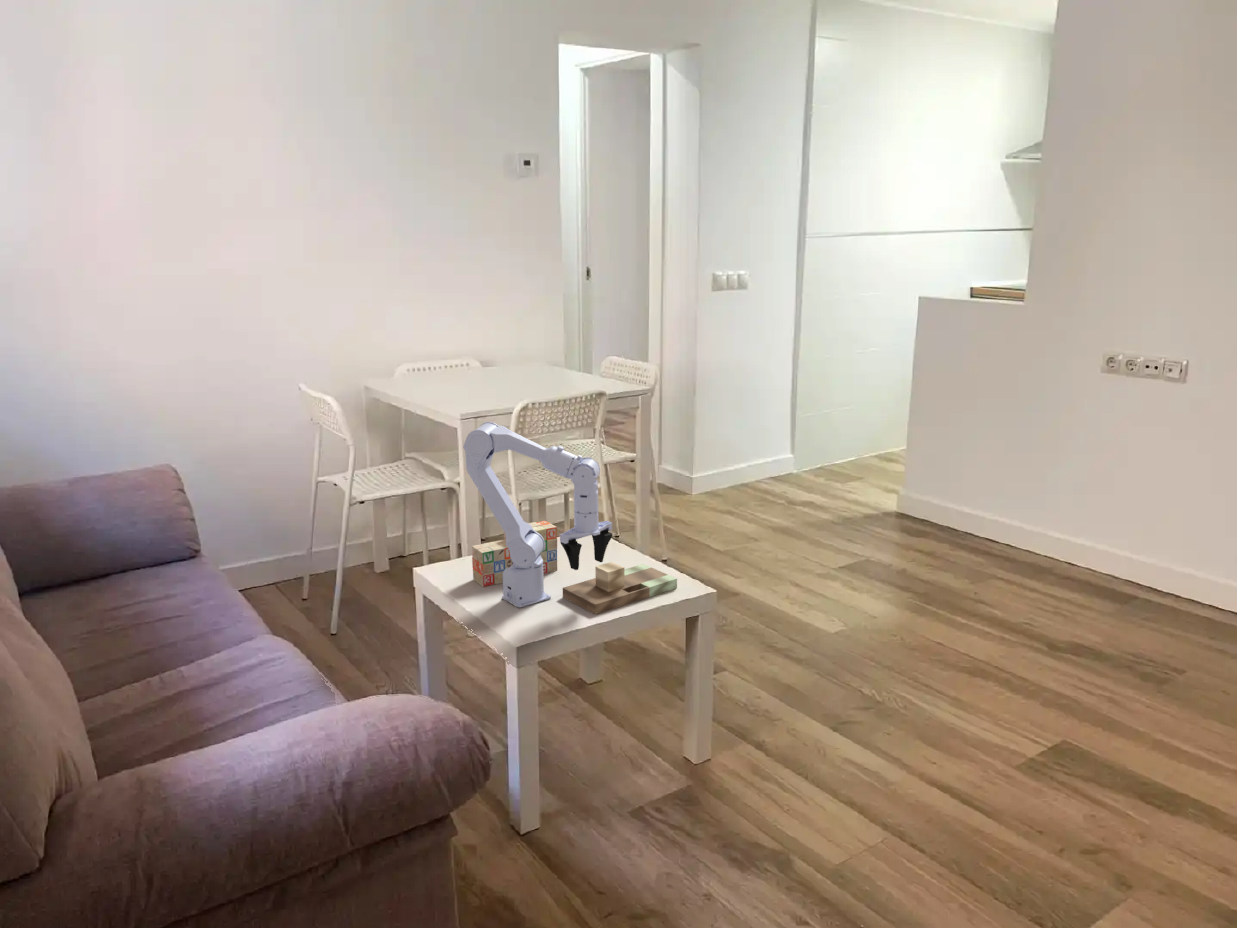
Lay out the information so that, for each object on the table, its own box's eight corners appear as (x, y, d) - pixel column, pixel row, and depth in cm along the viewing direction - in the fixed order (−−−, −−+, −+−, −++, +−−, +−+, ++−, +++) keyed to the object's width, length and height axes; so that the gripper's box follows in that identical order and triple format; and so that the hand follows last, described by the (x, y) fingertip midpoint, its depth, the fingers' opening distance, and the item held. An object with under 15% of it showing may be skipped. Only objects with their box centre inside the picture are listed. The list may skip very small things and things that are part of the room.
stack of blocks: (483, 587, 240) (481, 541, 237) (472, 579, 245) (470, 534, 242) (558, 570, 251) (557, 526, 248) (546, 563, 256) (545, 519, 253)
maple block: (608, 591, 230) (608, 572, 229) (595, 585, 234) (595, 566, 233) (624, 586, 233) (624, 567, 232) (611, 580, 237) (611, 561, 236)
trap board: (595, 614, 224) (595, 604, 223) (562, 597, 233) (562, 587, 233) (676, 587, 239) (677, 578, 238) (643, 572, 249) (643, 563, 248)
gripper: (573, 520, 217) (574, 577, 221) (620, 507, 227) (620, 561, 230) (553, 513, 222) (554, 568, 226) (600, 501, 232) (601, 554, 235)
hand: (586, 564), depth 228 cm, fingers open, 7 cm apart
